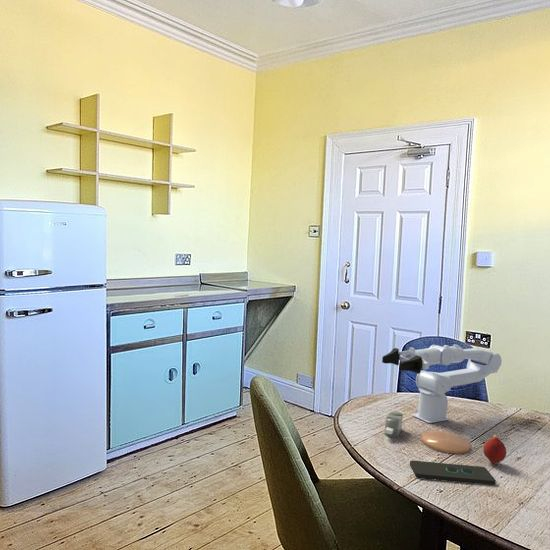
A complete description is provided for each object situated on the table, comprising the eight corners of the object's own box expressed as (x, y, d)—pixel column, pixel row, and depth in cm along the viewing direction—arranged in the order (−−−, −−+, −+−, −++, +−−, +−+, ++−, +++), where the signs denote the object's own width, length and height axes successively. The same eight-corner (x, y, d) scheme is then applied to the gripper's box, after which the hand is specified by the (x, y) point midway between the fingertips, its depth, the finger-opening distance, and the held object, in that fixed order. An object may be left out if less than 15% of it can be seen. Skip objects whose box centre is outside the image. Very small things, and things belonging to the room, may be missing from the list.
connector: (390, 425, 165) (391, 410, 165) (402, 428, 164) (403, 413, 163) (381, 438, 154) (382, 422, 154) (394, 441, 152) (396, 425, 152)
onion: (503, 461, 143) (506, 433, 143) (505, 470, 138) (509, 441, 137) (481, 457, 145) (484, 430, 145) (482, 465, 140) (485, 437, 139)
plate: (443, 432, 163) (443, 428, 163) (480, 449, 151) (481, 445, 151) (411, 438, 156) (412, 434, 156) (448, 456, 144) (448, 452, 144)
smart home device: (496, 480, 128) (416, 473, 129) (496, 487, 129) (416, 480, 129) (485, 466, 137) (409, 459, 138) (484, 472, 137) (409, 465, 138)
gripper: (406, 340, 176) (376, 345, 169) (439, 352, 164) (409, 357, 156) (404, 360, 177) (375, 365, 170) (437, 373, 164) (407, 379, 157)
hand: (391, 363), depth 163 cm, fingers open, 7 cm apart
